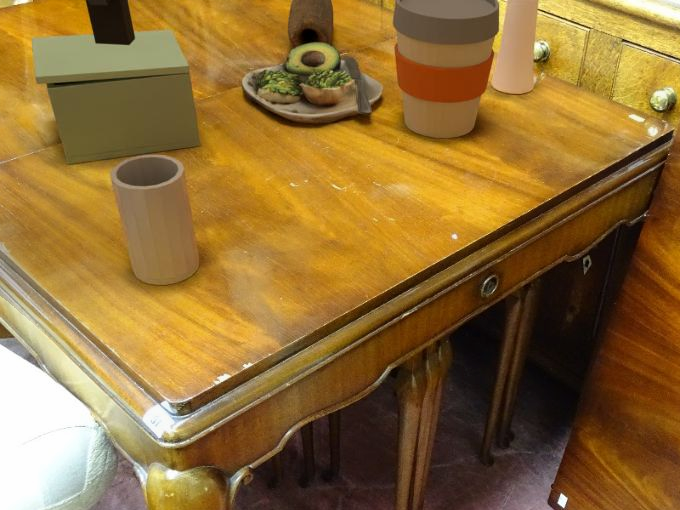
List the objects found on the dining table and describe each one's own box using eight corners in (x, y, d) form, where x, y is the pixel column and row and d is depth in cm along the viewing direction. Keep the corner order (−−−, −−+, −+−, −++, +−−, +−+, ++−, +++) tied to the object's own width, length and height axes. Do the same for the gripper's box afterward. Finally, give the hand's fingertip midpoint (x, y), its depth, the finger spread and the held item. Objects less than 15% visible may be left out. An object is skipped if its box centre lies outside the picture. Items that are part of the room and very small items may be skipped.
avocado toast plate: (420, 111, 101) (421, 77, 98) (300, 144, 92) (298, 108, 89) (340, 62, 112) (339, 30, 109) (227, 87, 103) (223, 53, 101)
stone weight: (288, 24, 123) (285, -20, 119) (332, 24, 124) (331, -19, 120) (289, 61, 112) (286, 13, 107) (338, 60, 113) (337, 13, 108)
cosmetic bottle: (490, 92, 106) (510, -83, 92) (490, 75, 111) (508, -94, 97) (534, 96, 106) (560, -79, 92) (532, 78, 111) (556, -91, 97)
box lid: (37, 84, 80) (35, 76, 79) (32, 44, 88) (31, 37, 87) (189, 72, 85) (189, 65, 84) (172, 36, 93) (171, 29, 93)
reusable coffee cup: (370, 119, 98) (370, -3, 89) (438, 93, 105) (445, -22, 96) (441, 155, 92) (449, 28, 82) (508, 125, 99) (524, 4, 89)
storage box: (67, 164, 86) (46, 88, 80) (61, 120, 94) (41, 48, 88) (200, 146, 91) (190, 73, 85) (183, 105, 99) (172, 36, 93)
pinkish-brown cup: (124, 283, 70) (99, 186, 64) (144, 245, 75) (124, 152, 68) (190, 287, 70) (172, 191, 64) (206, 249, 75) (191, 156, 68)
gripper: (50, -345, 42) (136, 74, 57) (128, -339, 52) (183, 16, 67) (-87, -352, 42) (35, 70, 57) (17, -345, 52) (97, 12, 67)
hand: (115, 40), depth 62 cm, fingers closed
